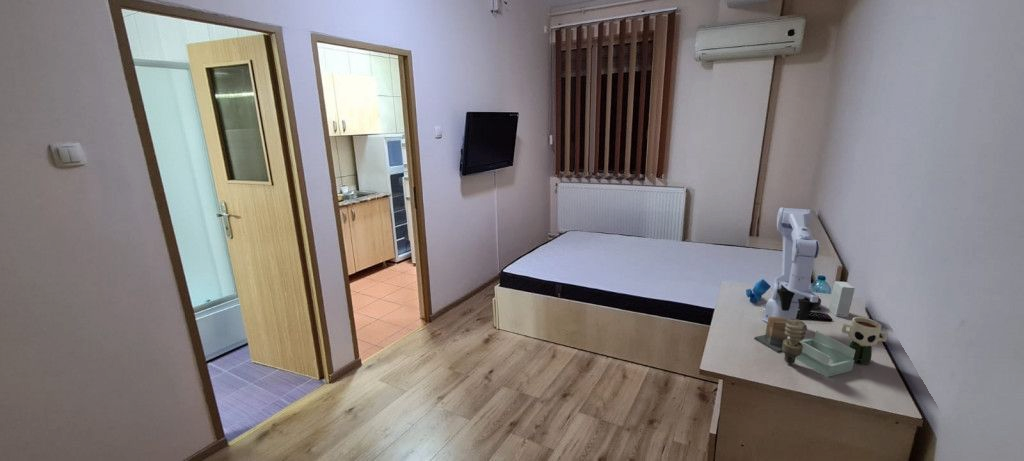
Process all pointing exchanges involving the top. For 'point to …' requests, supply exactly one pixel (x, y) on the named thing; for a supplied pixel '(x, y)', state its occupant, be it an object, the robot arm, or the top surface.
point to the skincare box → (841, 299)
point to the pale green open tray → (826, 355)
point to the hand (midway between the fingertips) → (793, 314)
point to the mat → (773, 346)
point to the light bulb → (793, 339)
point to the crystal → (757, 291)
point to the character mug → (864, 337)
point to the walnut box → (776, 330)
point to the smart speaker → (817, 304)
